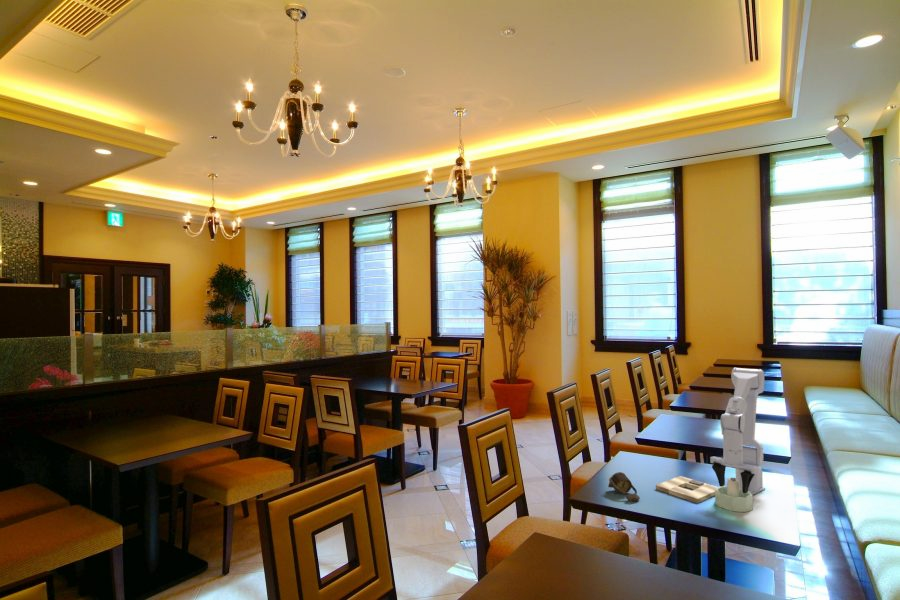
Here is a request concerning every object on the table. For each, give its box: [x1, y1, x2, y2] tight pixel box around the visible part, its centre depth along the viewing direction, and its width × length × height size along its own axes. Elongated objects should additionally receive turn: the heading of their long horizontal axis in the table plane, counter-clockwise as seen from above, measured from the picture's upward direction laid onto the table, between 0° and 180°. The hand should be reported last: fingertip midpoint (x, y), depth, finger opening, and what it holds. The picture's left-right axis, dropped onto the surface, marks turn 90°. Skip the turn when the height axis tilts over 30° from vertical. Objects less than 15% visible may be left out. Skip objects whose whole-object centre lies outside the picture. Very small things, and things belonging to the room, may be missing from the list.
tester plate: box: [655, 475, 719, 504], centre depth 185 cm, size 16×16×2 cm
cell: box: [726, 477, 739, 497], centre depth 172 cm, size 4×4×9 cm
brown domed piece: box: [607, 471, 641, 503], centre depth 182 cm, size 7×13×10 cm
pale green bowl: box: [714, 485, 753, 513], centre depth 172 cm, size 11×11×4 cm
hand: (733, 489), depth 172 cm, fingers open, 7 cm apart
